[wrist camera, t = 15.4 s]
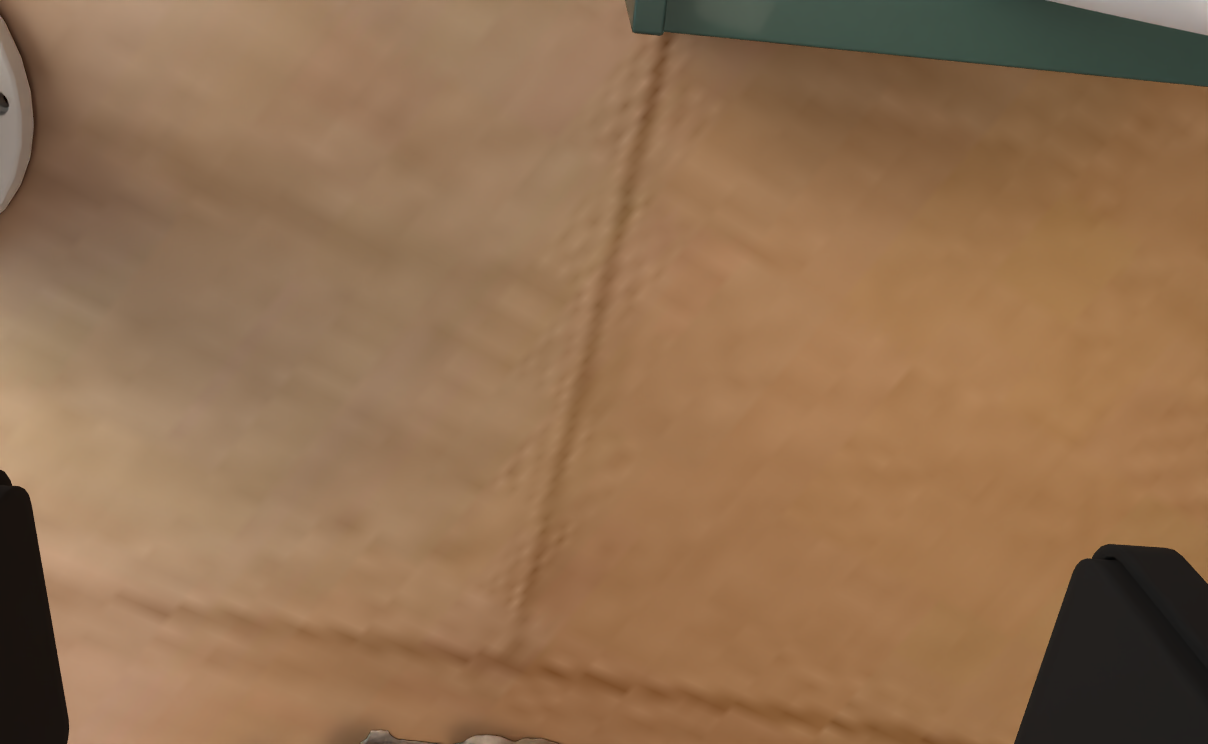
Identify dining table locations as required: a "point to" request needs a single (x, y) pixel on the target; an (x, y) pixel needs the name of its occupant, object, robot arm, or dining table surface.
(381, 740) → the food dish
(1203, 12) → the can
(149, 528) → the dining table surface
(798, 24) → the step rack
